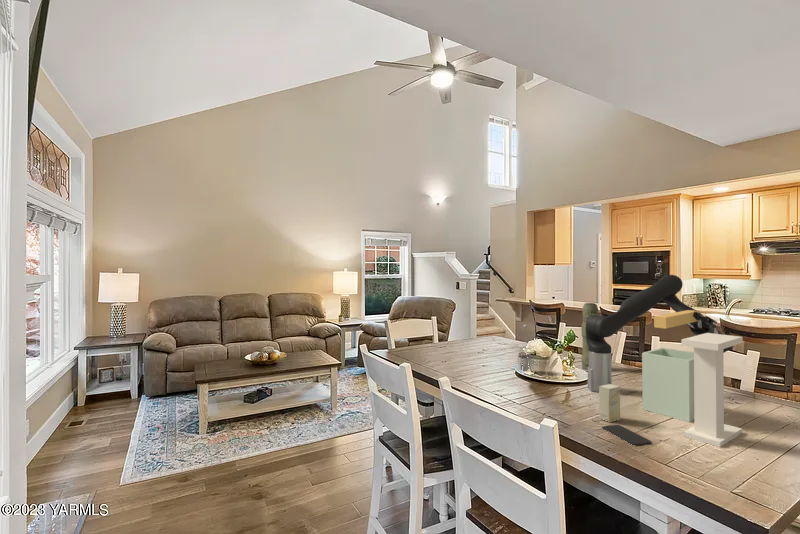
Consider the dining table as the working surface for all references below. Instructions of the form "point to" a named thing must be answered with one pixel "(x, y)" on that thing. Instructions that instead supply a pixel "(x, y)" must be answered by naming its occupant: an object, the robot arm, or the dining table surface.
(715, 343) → the shelf stand
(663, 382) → the tote
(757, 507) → the dining table surface
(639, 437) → the phone
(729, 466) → the dining table surface
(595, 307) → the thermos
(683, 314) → the box
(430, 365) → the dining table surface
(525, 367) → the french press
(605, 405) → the skincare box
